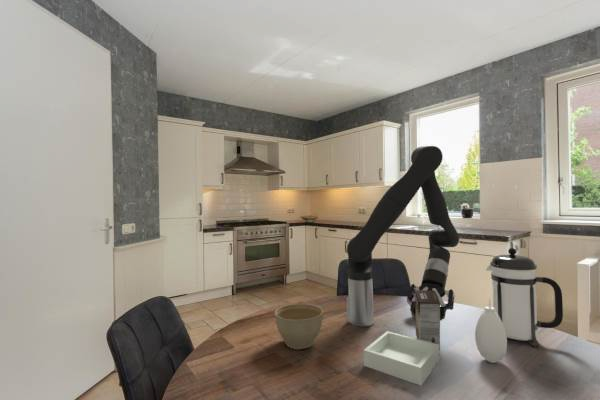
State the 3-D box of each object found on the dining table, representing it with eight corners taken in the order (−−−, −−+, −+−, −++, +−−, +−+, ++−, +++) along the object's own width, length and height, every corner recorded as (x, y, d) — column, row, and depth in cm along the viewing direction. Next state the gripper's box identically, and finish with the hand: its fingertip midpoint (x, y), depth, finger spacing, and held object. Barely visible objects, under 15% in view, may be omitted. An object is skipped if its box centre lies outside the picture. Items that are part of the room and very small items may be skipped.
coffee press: (519, 353, 93) (516, 253, 94) (478, 331, 109) (476, 246, 109) (565, 345, 97) (562, 250, 97) (519, 326, 113) (516, 243, 113)
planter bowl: (333, 341, 104) (332, 309, 104) (300, 360, 93) (299, 324, 93) (298, 329, 115) (297, 300, 115) (265, 344, 104) (264, 312, 104)
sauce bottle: (509, 370, 84) (507, 304, 84) (476, 364, 88) (474, 300, 88) (506, 357, 91) (504, 296, 91) (475, 352, 95) (473, 293, 95)
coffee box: (415, 334, 106) (414, 289, 104) (435, 335, 104) (434, 290, 102) (419, 350, 97) (418, 301, 95) (441, 352, 95) (441, 302, 93)
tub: (364, 365, 89) (363, 349, 89) (387, 344, 101) (387, 331, 101) (421, 385, 78) (420, 367, 78) (439, 359, 91) (438, 344, 91)
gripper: (412, 265, 112) (401, 306, 103) (455, 270, 103) (447, 315, 94) (417, 277, 116) (407, 317, 107) (459, 282, 107) (452, 327, 98)
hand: (426, 316), depth 101 cm, fingers closed on coffee box, 8 cm apart
